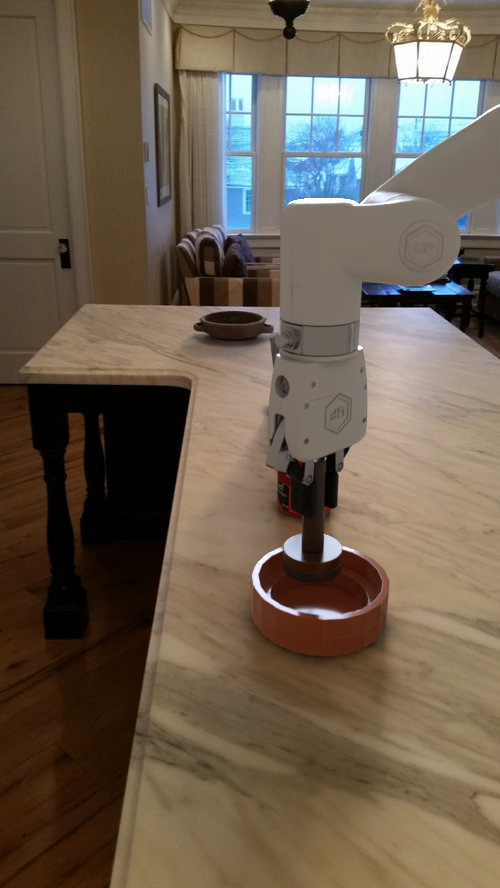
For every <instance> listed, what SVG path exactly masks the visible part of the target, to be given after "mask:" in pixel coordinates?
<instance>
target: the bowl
mask: <svg viewBox="0 0 500 888" xmlns="http://www.w3.org/2000/svg"><path fill="white" fill-rule="evenodd" d="M342 548H343V552H342V570H341V573H340V574H339V576H338V577H336V578H335V579H333V580H331V581H328V582H324V583H317V584H312V583H304V582H300V581H297V580H294V579H292V578H290V577H289V576H288V575H287V574H286V573H285V572H284V570H283V546H281V547H278V548H276V549H274V550H272V551H270V552H266V554H264V555H263V556H262V557H261V558H260V559H259V560H258V561H256V563H255V565H254V567H253V570H252V572H251V575H250V612H251V618H252V619H251V620H252V622H253V623H254V625H255V626H256V628H257V629H258V631H259V632H260V633H261V635H263V636H264V637H265V638H267V639H268V640H269V641H271V642H272V643H274V644H275V645H277V646H279V647H282V648H285V649H286V650H287V649H288V650H290V651H292V652H295V653H298V654H302V655H303V654H305V655H309V656H317V657H328V656H329V657H330V656H331V657H333V656H343V655H346V654H351V653H355V652H357V651H360V650H364V649H365V648H366V647H368V646H369V645H372V643H374V642H376V641H377V640H378V639H379V638H380V636H381V634H382V633H383V632H384V630H385V628H386V624H387V623H386V622H387V616H388V615H387V614H388V606H389V605H388V604H389V596H390V583H391V582H390V578H389V577H388V575H387V573H386V571H385V569H384V567H382V566H381V565H380V564H379V563H378V562H377V561H376V560H375V559H374V558H372V557H370V556H369V555H366V554H365V553H363V552H361V551H359V550H357V549H354V548H350V547H347V546H345V545H344V546H343V545H342Z"/></svg>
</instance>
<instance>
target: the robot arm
mask: <svg viewBox="0 0 500 888" xmlns="http://www.w3.org/2000/svg"><path fill="white" fill-rule="evenodd" d="M498 200H500V103H499V104H497V105H496V106H494V107H492V108H491V109H489V110H487V111H486V112H484V113H483V114H481V115H479V117H477V118H476V119H474V120H473V121H471V122H470V123H469V124H467V125H466V126H464V127H462V128H460V129H459V130H457V131H456V132H455V133H453V134H451V135H449V136H448V137H447V138H445V139H443V140H441V141H440V142H439V143H437V144H436V145H434V146H432V147H431V148H429V149H428V150H427V151H425V152H424V153H422V154H421V155H419V156H418V157H416V158H415V159H414V160H412V161H411V162H410V163H409V164H407V165H406V166H404V167H403V168H402V169H401V170H399V171H398V172H397V173H395V174H394V175H392V177H390V178H389V179H388V180H386V181H385V182H384V183H383V184H381V185H380V186H379V187H378V188H376V189H375V190H374V191H372V192H371V193H369V195H368V196H367V197H365V199H363V201H361V203H359V202H356V201H354V200H351V199H345V198H327V197H326V198H325V197H322V198H304V199H297V200H293V201H290V202H289V203H287V204H286V205H285V206H284V208H283V210H282V212H281V216H280V226H279V227H280V231H279V232H280V233H279V234H280V236H279V238H280V239H279V240H280V241H279V249H280V250H279V330H280V334H277V335H276V336H275V344H276V346H277V347H278V348H279V352H280V353H278V354H276V358H275V363H274V368H273V367H272V368H273V369H272V374H271V382H270V390H269V401H268V411H269V412H268V417H267V433H268V443H269V447H270V449H269V451H268V454H267V457H266V460H265V466H266V467H267V468H269V469H271V470H274V471H276V472H278V471H280V472H284V473H286V476H288V477H290V478H291V502H290V506H291V509H292V510H293V511H295V512H297V513H299V514H301V515H303V516H305V517H307V518H309V519H312V518H314V517H315V516H316V509H317V483H315V482H313V473H314V460H316V459H319V458H321V457H324V456H325V457H326V458H327V468H326V498H325V506H326V507H328V508H331V509H330V510H333V509H335V508H337V507H338V499H339V498H338V497H339V477H340V476H339V475H340V474H339V473H340V472H342V471H343V469H344V466H345V458H346V456H347V455H348V453H349V451H350V448H352V447H353V446H354V445H356V444H358V443H359V442H360V441H362V440H363V439H364V438H365V436H366V433H367V427H368V377H367V367H366V366H367V365H366V358H365V353H364V347H362V346H361V345H359V344H360V323H361V307H362V306H361V305H362V289H363V287H362V286H363V282H365V283H366V282H367V283H376V284H382V285H384V284H385V285H392V286H400V287H419V286H424V285H427V284H430V283H433V282H435V281H437V280H438V279H440V278H442V277H443V276H444V275H445V274H446V273H448V272H449V270H450V269H452V268H453V266H454V264H455V263H456V261H457V258H458V256H459V254H460V251H461V243H462V241H461V240H462V239H461V230H460V228H459V225H458V222H457V221H458V220H460V219H461V218H463V217H465V216H466V215H468V214H470V213H472V212H474V211H475V210H477V209H479V208H482V207H484V206H486V205H488V204H490V203H493V202H496V201H498ZM286 455H287V457H286ZM298 461H300V462H302V467H301V466H300V465H299V464H298Z"/></svg>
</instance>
